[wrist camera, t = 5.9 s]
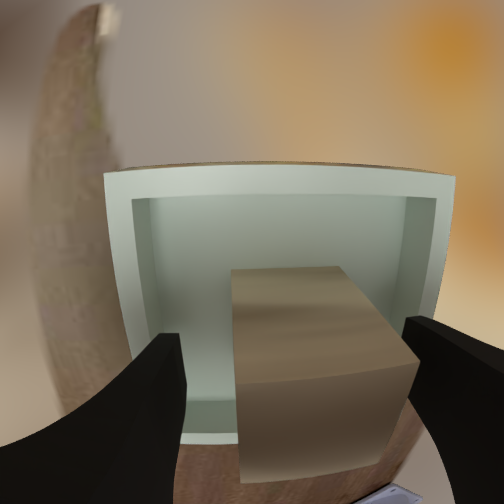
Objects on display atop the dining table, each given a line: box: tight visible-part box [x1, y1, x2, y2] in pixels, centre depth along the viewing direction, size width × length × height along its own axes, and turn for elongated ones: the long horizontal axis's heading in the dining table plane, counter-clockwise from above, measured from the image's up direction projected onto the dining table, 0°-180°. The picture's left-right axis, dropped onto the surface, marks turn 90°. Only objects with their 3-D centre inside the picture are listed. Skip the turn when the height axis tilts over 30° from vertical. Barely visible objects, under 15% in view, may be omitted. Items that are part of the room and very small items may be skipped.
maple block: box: [231, 266, 420, 483], centre depth 9 cm, size 4×4×6 cm
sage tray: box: [104, 161, 456, 444], centre depth 11 cm, size 11×11×2 cm
